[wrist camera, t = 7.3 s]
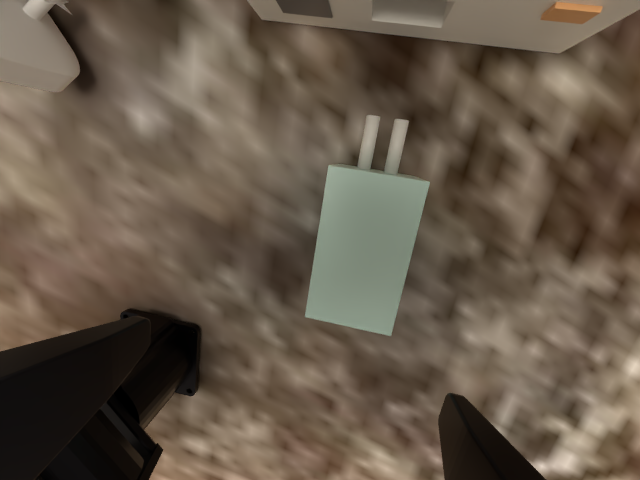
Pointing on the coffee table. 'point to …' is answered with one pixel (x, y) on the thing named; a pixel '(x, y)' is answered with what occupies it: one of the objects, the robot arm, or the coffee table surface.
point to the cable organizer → (34, 46)
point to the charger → (366, 237)
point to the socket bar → (460, 19)
